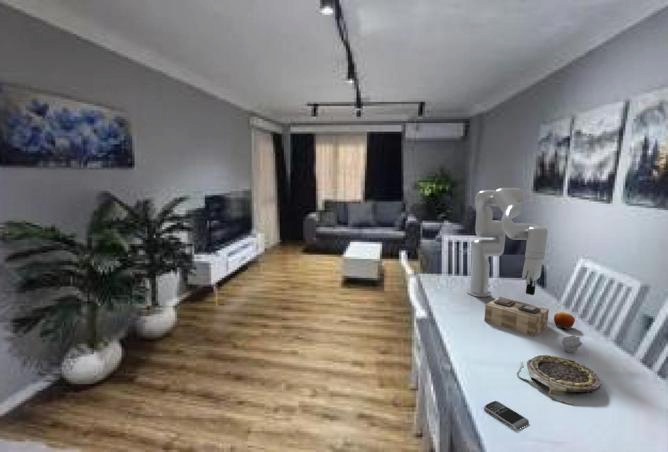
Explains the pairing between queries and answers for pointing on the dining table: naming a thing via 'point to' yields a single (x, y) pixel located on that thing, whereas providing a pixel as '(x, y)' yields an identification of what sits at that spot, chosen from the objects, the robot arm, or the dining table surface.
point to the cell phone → (506, 415)
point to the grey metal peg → (529, 308)
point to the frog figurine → (571, 343)
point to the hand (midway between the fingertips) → (530, 293)
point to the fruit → (564, 320)
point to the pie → (561, 375)
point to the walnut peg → (504, 301)
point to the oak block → (516, 316)
